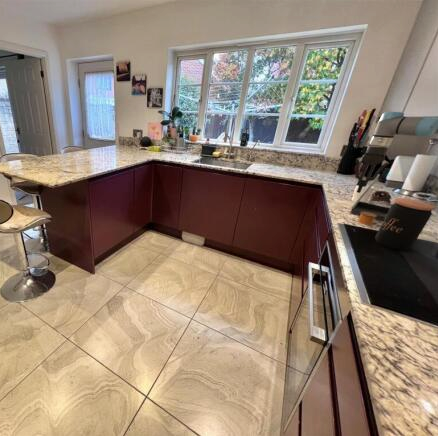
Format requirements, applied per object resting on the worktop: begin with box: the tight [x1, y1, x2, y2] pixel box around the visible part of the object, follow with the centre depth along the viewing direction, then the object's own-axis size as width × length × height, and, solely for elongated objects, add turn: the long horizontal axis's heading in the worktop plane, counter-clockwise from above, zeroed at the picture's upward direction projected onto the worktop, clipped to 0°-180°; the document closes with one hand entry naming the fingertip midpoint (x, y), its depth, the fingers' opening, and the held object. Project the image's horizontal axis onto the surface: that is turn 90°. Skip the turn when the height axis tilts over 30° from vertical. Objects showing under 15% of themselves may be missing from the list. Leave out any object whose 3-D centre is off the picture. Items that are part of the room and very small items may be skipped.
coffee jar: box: [374, 197, 437, 252], centre depth 90 cm, size 11×11×18 cm
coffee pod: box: [357, 212, 377, 226], centre depth 110 cm, size 6×6×5 cm
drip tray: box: [350, 201, 390, 222], centre depth 122 cm, size 15×19×3 cm
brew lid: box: [351, 173, 381, 209], centre depth 121 cm, size 16×19×1 cm
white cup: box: [351, 184, 375, 203], centre depth 139 cm, size 8×8×10 cm
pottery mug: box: [369, 190, 392, 205], centre depth 140 cm, size 12×10×8 cm
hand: (358, 192), depth 124 cm, fingers closed
